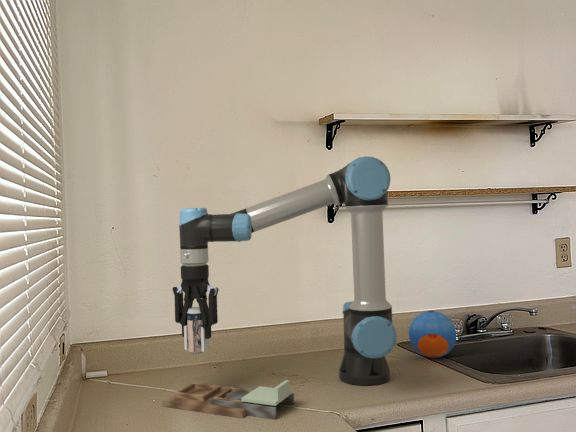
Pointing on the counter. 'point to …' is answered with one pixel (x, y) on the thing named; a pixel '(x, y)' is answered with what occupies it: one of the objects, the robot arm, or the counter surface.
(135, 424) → the counter surface
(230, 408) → the housing
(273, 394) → the lid
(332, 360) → the counter surface
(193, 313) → the beer can
